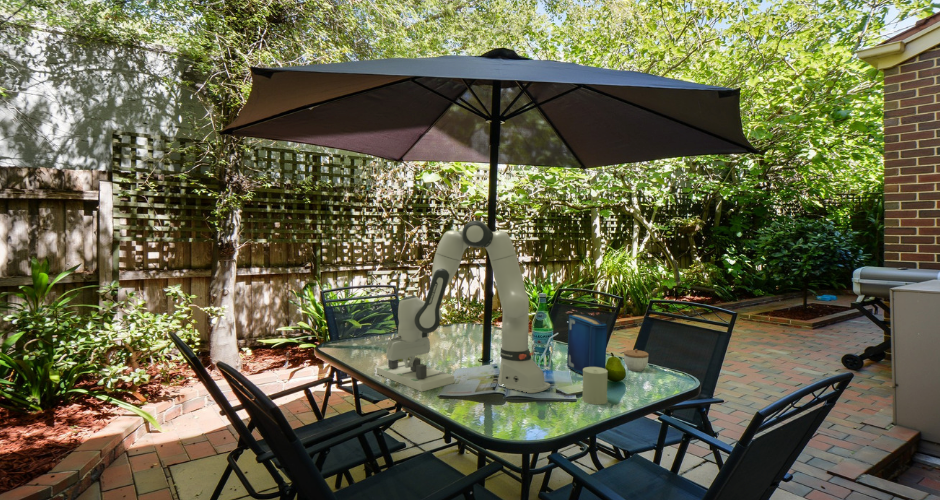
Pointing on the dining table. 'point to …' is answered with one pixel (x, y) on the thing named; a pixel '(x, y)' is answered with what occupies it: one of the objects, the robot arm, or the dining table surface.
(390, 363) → the switch
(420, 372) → the switch
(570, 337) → the book
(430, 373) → the switch panel
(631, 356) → the lidded jar
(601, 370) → the can
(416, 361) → the middle switch
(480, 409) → the dining table surface
